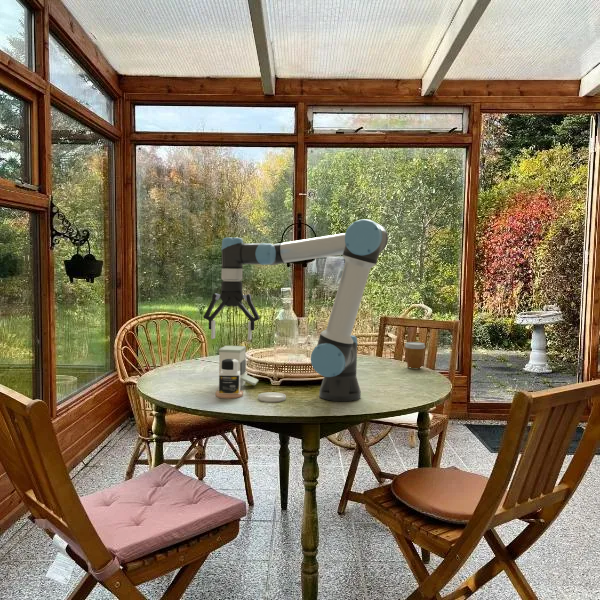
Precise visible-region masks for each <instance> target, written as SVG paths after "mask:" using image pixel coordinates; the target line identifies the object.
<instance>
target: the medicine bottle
mask: <svg viewBox="0 0 600 600" xmlns="http://www.w3.org/2000/svg"><path fill="white" fill-rule="evenodd" d="M218 390H219V394H239V391H240V390H241V388H240V371H238V360H236V359H225V360H223V361H222V371H221V373H220V375H219V374H218Z"/></svg>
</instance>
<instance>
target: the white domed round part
mask: <svg viewBox="0 0 600 600" xmlns="http://www.w3.org/2000/svg"><path fill="white" fill-rule="evenodd" d="M286 397H287V396H286V394H285V393H284V392H283V393H282V392H275V391H274V392H272V391H270V392H269V391H268V392H267V391H266V392H261V393H258V394H257V400H258V401H260V402H263V403H264V402H265V403H280V402H284V401H285V400H286V399H287V398H286Z"/></svg>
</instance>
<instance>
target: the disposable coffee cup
mask: <svg viewBox="0 0 600 600" xmlns="http://www.w3.org/2000/svg"><path fill="white" fill-rule="evenodd" d="M404 347H405V352H406V363H407V365H406V366H407V368H408V367H411V368H420V367H421V368H422V364H423V358H424V353H425V348H426V344H425V342H419V341H407V342H405V345H404Z"/></svg>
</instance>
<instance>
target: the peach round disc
mask: <svg viewBox="0 0 600 600" xmlns="http://www.w3.org/2000/svg"><path fill="white" fill-rule="evenodd" d="M215 397H217V398H220V399H229V400H231V399H240V398H242V397H244V391H243V390H241V389H240V391H239V394H219V389H218V390H216V391H215Z"/></svg>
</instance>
